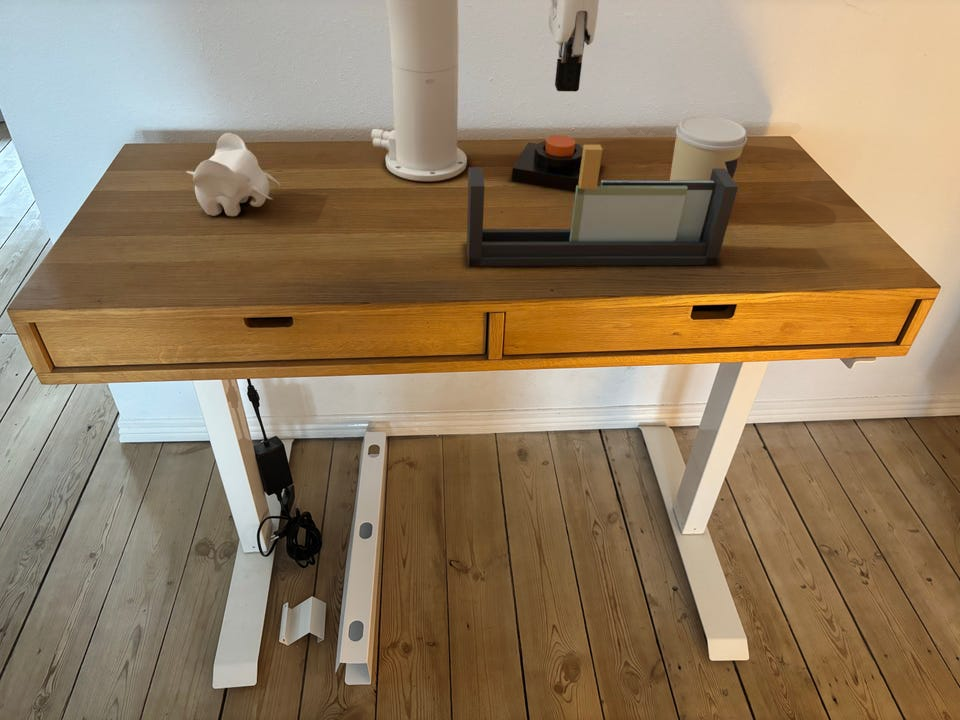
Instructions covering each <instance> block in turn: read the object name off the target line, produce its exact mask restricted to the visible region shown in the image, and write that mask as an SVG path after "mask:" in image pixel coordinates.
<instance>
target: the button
mask: <svg viewBox="0 0 960 720" xmlns="http://www.w3.org/2000/svg"><path fill="white" fill-rule="evenodd" d="M545 140H546V146H545V152H546V153H548V154H551V155H553V156H560V157H562V156H571V155H573V154H574V150H575V143H576V140H575V139H574V138H572V137H571V136H568V135H563V134H555V135H550V136H548V137H547V138H546V139H545Z"/></svg>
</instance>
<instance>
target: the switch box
mask: <svg viewBox="0 0 960 720" xmlns="http://www.w3.org/2000/svg"><path fill="white" fill-rule="evenodd" d="M545 146H546V139H545V140H543V141H540V142H536V143H535V142H531V141H530V142H529V141H528V142H527V143H526V145H525V147H524V149H523V150H522V152H521V153H520V155H519V156H518V158H517V160H516V162H515V163H514V165H513V167H512V171H511V182H513V183H520V184H524V185H532V186H537V187H544V188H550V189H556V190H562V191H569V192H574V193H576V186H577V185H579V176H580V168H581V161H582V153H583V147H582V145H580V144H579V143H576V142H575V150H574V154H573V155H571V156H562V157H560V156H553V155H551V154H548V153H546V152H545ZM603 155H604V154H603V153H602V157H601V163H600V168H601V167H602V161H603V160H602V159H603Z"/></svg>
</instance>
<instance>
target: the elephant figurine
mask: <svg viewBox="0 0 960 720" xmlns="http://www.w3.org/2000/svg"><path fill="white" fill-rule="evenodd" d="M215 148H216V149H215V151H214V154H213V155H212V156H211V157H210V158H209V159H204V160H203V161H201V162H200V163H199V164H198V165H197V167H196V168H195V171H191V170H190V171H189V170H187V171H186V174H188V175H190V176H192V180H191V181H192V183H193V184H194V192H195V193H194V194H195V196H196V200H197V202H198V204H199V205H200V207H201V208H202V210H203V211H204V212H205V213H206V214H207V215H209V216H212V217H216V216H218V215H220V214H222V212H223V210H224V213H225V215H226V216H228V217H237V216H238V215H239V214H240V213H241V206H240V205H241V204H244V203H246V202H247V201H248V199H249V197H252V199H251V200H250V201H249V204H250V206H252V207H254V208H260V207H261V206H263V205H264V204H265V202H266V199H267V200H272V201H274V199H273V198H272V197H271V196H269V195H270V190H271V186H270V182H269V180H270V181H272V182H273V183H275V184H276V185H278V186H281V187H282V185H281V183H280V182H279V181H277V180H276V178H274V177H273V176H272V175H271V174H269V173H268V172H264V171H263V170H262V168H261V167H260V165H259V162H258V158H257V157H256V156H255V154H254V153H252V152H251V150H249V149H248V146H247V145H246V143H245V141H244V140H243V139H242V138H241V137H240V136H239V135H237V134H234V133H232V132H225V133H224V134H222V135H221V136H220V137H219V138H218V139H217V142H216V147H215ZM222 207H223V208H222Z"/></svg>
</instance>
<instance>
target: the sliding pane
mask: <svg viewBox="0 0 960 720" xmlns="http://www.w3.org/2000/svg"><path fill="white" fill-rule="evenodd" d="M582 148H583V153H582V161H581V168H580V176H579V185H577V186H576V192H574V193H575V194H574V202H573V208H572V209H573V210H572V218H571V225H570V229H571V232H570V240H569V242H647V241H675V240H676V235H677V231H678V227H679V223H680V218H681V214H682V210H683V206H684V201H685V197H686V193H687V189H688V188H687V186H601V185H600V184H599V185H598V183H599V176H600V169H601V167H600V163H601V164H602V161H601V157H602V158H603V155H602V154H603V147H602V145H601V144H583V147H582Z"/></svg>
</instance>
